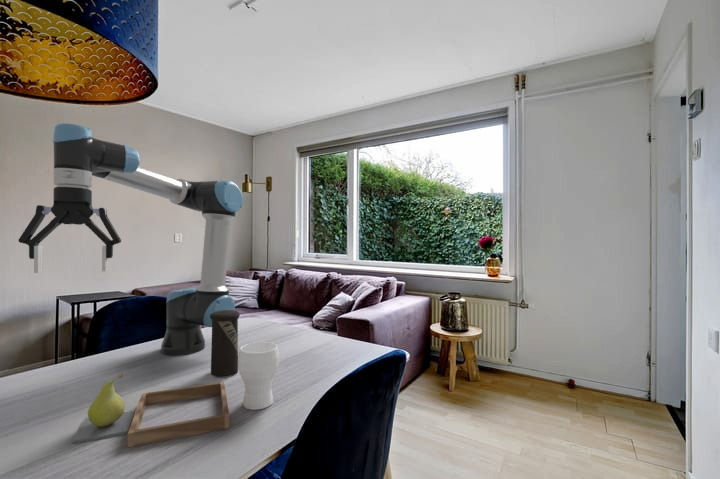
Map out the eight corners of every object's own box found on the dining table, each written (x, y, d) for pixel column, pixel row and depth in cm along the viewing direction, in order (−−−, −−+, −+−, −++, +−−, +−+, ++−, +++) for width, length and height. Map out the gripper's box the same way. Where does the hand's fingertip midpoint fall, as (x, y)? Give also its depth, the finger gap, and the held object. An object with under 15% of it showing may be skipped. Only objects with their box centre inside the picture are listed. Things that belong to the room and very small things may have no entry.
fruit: (102, 416, 86) (102, 366, 86) (133, 417, 86) (134, 367, 86) (80, 431, 79) (80, 378, 79) (113, 432, 79) (114, 378, 79)
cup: (247, 417, 88) (248, 356, 88) (230, 401, 96) (231, 346, 96) (285, 404, 95) (286, 348, 94) (267, 390, 103) (268, 338, 102)
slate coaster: (85, 420, 85) (85, 418, 85) (134, 412, 89) (134, 410, 89) (71, 443, 76) (71, 441, 76) (127, 433, 80) (127, 431, 80)
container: (229, 379, 110) (230, 314, 110) (203, 376, 112) (204, 312, 112) (244, 368, 119) (244, 309, 118) (219, 366, 120) (220, 307, 120)
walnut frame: (141, 404, 93) (142, 393, 93) (223, 392, 101) (224, 381, 101) (127, 447, 75) (127, 433, 75) (229, 428, 83) (229, 415, 83)
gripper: (-1, 181, 81) (-1, 274, 82) (128, 189, 92) (127, 271, 92) (15, 185, 88) (15, 271, 89) (133, 192, 98) (132, 268, 99)
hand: (72, 271), depth 90 cm, fingers open, 13 cm apart
